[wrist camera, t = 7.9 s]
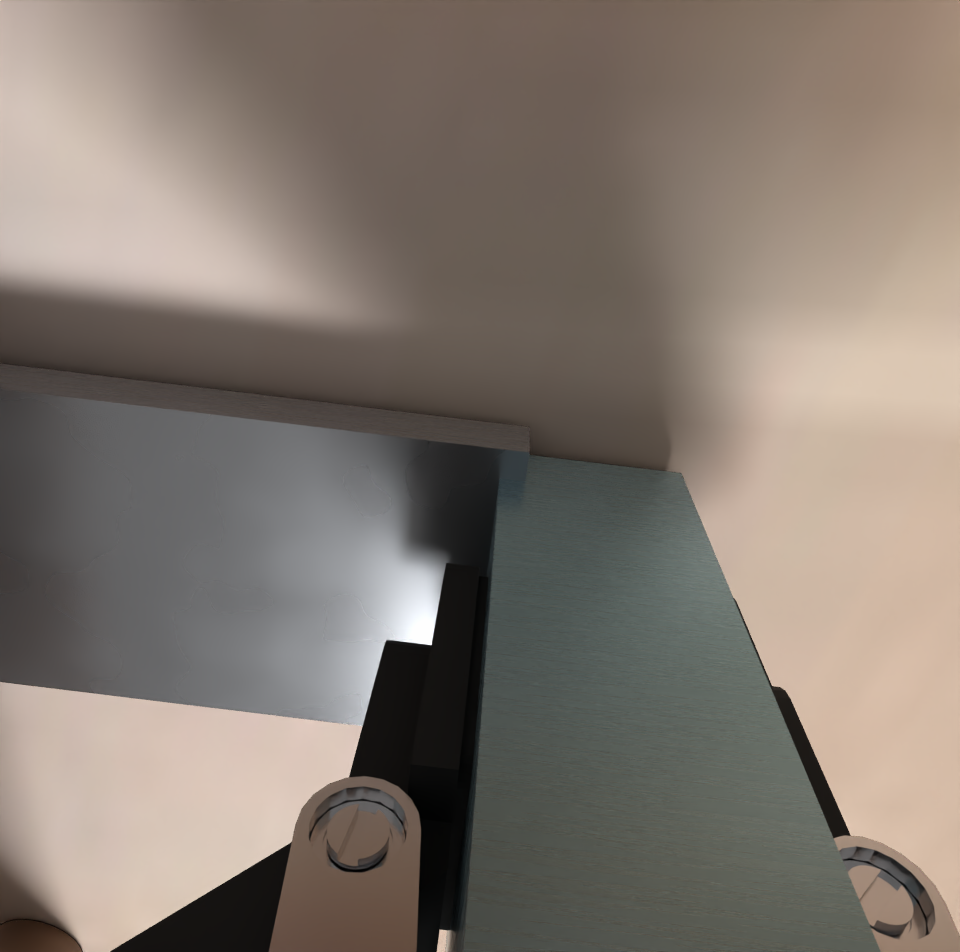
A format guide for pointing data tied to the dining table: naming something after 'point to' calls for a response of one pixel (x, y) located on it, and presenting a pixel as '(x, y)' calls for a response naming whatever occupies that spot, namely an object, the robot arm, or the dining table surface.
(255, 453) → the grey l-shaped piece
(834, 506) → the dining table surface
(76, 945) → the walnut stand
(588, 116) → the dining table surface
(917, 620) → the dining table surface
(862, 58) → the dining table surface
